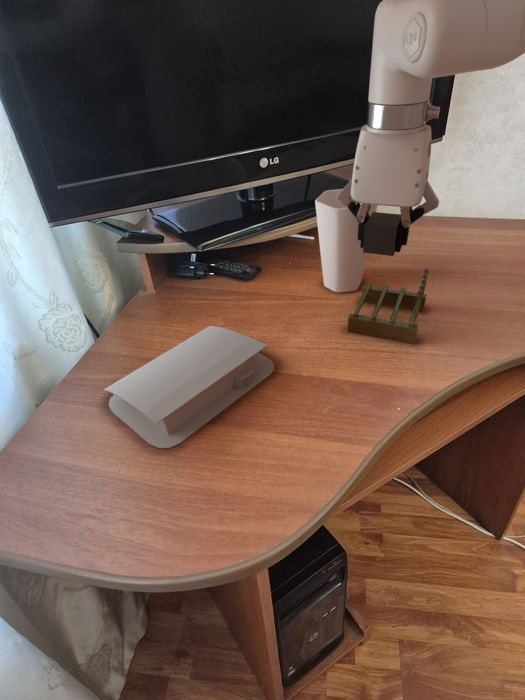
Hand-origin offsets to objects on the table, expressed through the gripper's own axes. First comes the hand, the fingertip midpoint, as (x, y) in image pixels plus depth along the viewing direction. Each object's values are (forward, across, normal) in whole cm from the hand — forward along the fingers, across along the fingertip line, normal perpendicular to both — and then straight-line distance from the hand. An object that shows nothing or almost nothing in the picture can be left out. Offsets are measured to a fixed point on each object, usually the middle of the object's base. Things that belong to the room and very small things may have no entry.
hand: (381, 245), depth 68 cm
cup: (+14, +8, -11) cm, 20 cm away
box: (0, 0, 0) cm, 0 cm away
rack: (+14, -2, -1) cm, 14 cm away
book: (+14, +22, +25) cm, 36 cm away
